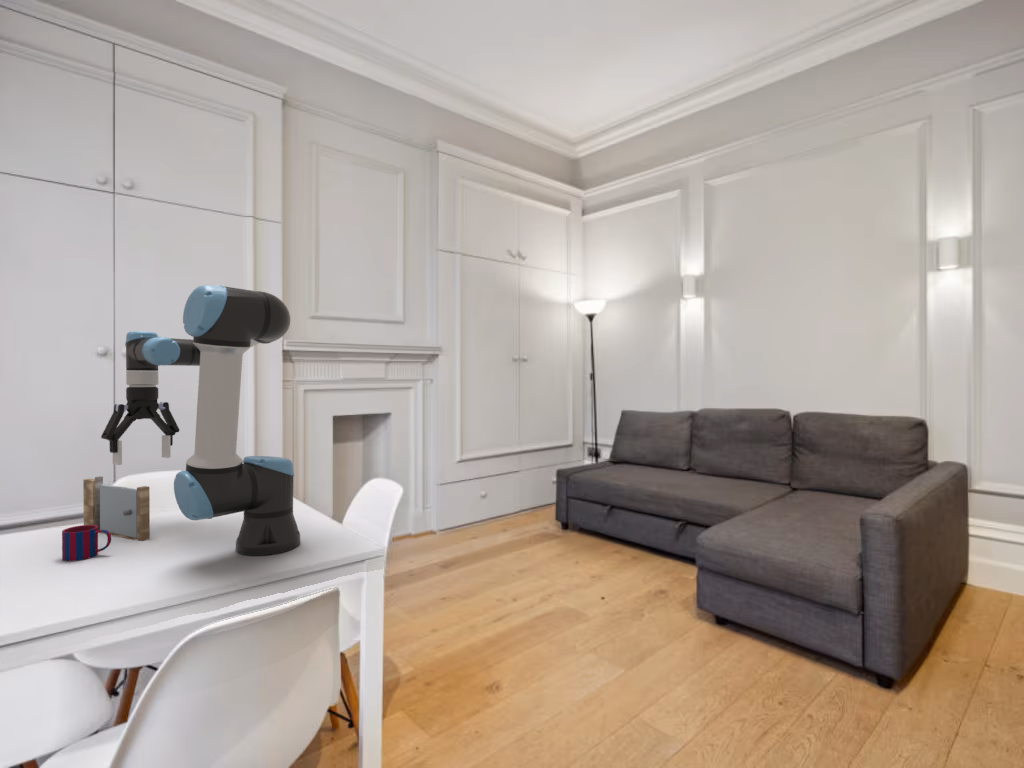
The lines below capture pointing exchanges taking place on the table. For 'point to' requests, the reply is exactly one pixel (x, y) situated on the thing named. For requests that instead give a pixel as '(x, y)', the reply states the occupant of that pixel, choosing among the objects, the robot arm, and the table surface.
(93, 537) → the mug
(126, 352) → the robot arm
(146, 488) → the doorframe
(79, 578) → the table surface
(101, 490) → the door
